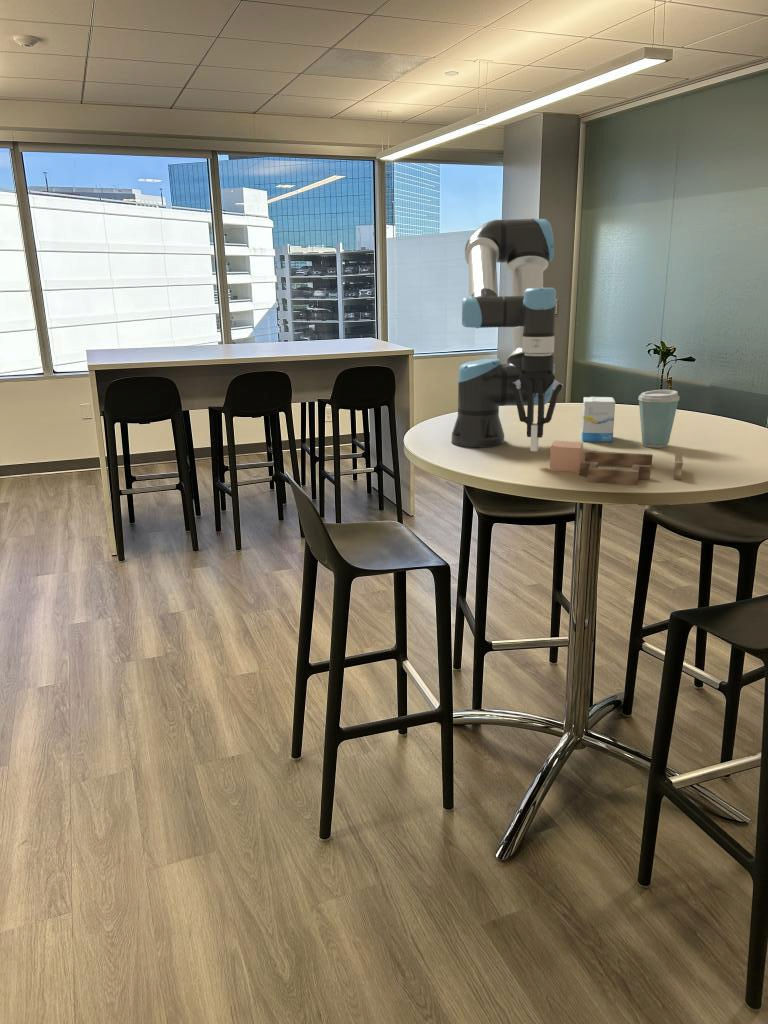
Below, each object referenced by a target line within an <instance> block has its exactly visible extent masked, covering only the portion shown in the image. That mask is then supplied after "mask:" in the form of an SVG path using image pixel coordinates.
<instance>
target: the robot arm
mask: <svg viewBox="0 0 768 1024" xmlns="http://www.w3.org/2000/svg"><path fill="white" fill-rule="evenodd" d="M554 239H555V238H554V233H553V227H552V225H551V223H550V221H549V220H548V219H546V218H536V217H532V218H523V219H520V218H519V219H494V220H491V221H488V222H486V223H484V224H482V225H480V226H479V227H477V229H476V230H475V231H473V232H472V234H471V235H470V236H469V238H468V239H467V241H466V243H465V247H464V258H465V261H466V263H467V265H468V297H463V298H462V301H461V325H462V326H463V327H464V328H470V329H471V328H475V329H481V328H482V329H483V328H485V329H486V328H512V353H510V354H509V355H508V357H507V359H506V361H507V362H506V363H502V362H501V360H500V359H499V358H495V357H494V358H483V359H482V358H481V359H475V360H471V361H467V362H465V363H463V364H461V365H460V366H459V367H458V376H457V378H458V379H457V381H456V382H457V383H458V385H457V387H458V390H457V417H456V420H455V423H454V426H453V430H452V432H451V443H452V444H453V445H456V446H461V447H466V448H467V447H468V448H490V447H496V446H500V445H501V446H502V444H504V443H505V432H504V428H503V425H502V422H501V419H500V415H499V414H500V407H501V406H505V407H507V406H512V407H513V406H514V407H515V406H516V409H517V414H518V418H519V421H520V422H521V423H525V424H526V437H527V438H530V450H529V451H530V452H538V450H539V440H540V439H539V438H543V436H544V425H545V424H548V423H550V421H552V418H553V415H554V411H555V407H556V404H557V402H558V401H557V400H558V397H559V394H560V392H561V390H562V389H563V388H564V386H565V385H564V383H563V382H559V381H557V380H556V376H555V373H556V372H555V371H556V365H555V363H554V360H555V357H554V355H552V354H553V353H555V339H556V337H555V329H556V328H555V327H556V326H555V325H556V311H557V303H558V301H557V290H556V289H555V288H554V287H544V271H546V269H547V268H548V267H549V263H550V262H551V261H553V259H554V255H555V245H554V244H555V241H554ZM497 263H506V268H507V270H508V271H509V272H510V273H511V274H512V295H511V296H505V295H503V296H499V286H498V285H499V284H498V272H497ZM548 403H549V405H548ZM545 405H548V407H547V411H546V414H545ZM525 406H527V409H525ZM535 406H537V422H536V423H535V422H534V412H535V411H534V410H535Z"/></svg>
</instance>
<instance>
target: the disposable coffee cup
mask: <svg viewBox="0 0 768 1024" xmlns="http://www.w3.org/2000/svg"><path fill="white" fill-rule="evenodd" d="M678 392H679V391H677V390H672V389H654V390H653V389H652V390H648V391H643V392H642V393H640V395H638V398H637V400H638V405H639V418H640V419H639V420H640V429H641V441H642V444H643V447H648V448H658V449H660V448H667V447H668V444H669V443H670V439H671V435H672V430H673V425H674V421H675V417H676V413H677V409H678V403H679V401H680V395H678V394H679V393H678Z"/></svg>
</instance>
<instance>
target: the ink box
mask: <svg viewBox="0 0 768 1024" xmlns="http://www.w3.org/2000/svg"><path fill="white" fill-rule="evenodd" d="M615 411H616V401H615V399H614V397H611V396H610V397H609V396H584V397H583V401H582V415H581V430H580V431H581V432H580V436H581V440H582V441H581V442H593V443H595V442H600V443H601V442H602V443H613V439H614V425H615V413H616V412H615Z"/></svg>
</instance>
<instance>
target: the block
mask: <svg viewBox="0 0 768 1024" xmlns="http://www.w3.org/2000/svg"><path fill="white" fill-rule="evenodd" d="M583 448H584V441H568V440H567V441H565V440H564V441H563V440H554V441H553V443H552V444H551V446H550V451H549V454H550V455H549V471H558V472H559V471H561V472H562V471H563V472H572V473H573V472H575V473H579V471H580V462H581V461H583Z"/></svg>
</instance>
